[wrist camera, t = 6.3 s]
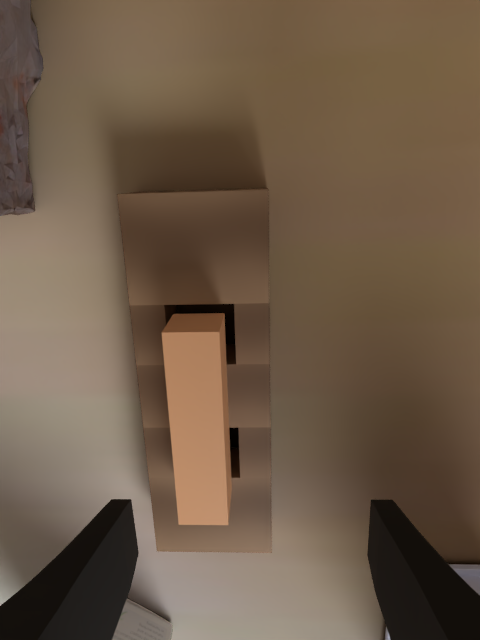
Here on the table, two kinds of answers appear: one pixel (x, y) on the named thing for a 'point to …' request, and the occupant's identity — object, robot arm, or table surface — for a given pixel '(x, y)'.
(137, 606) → the syrup box
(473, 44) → the table surface
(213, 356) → the tan wooden block
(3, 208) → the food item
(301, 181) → the table surface
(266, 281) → the rail
